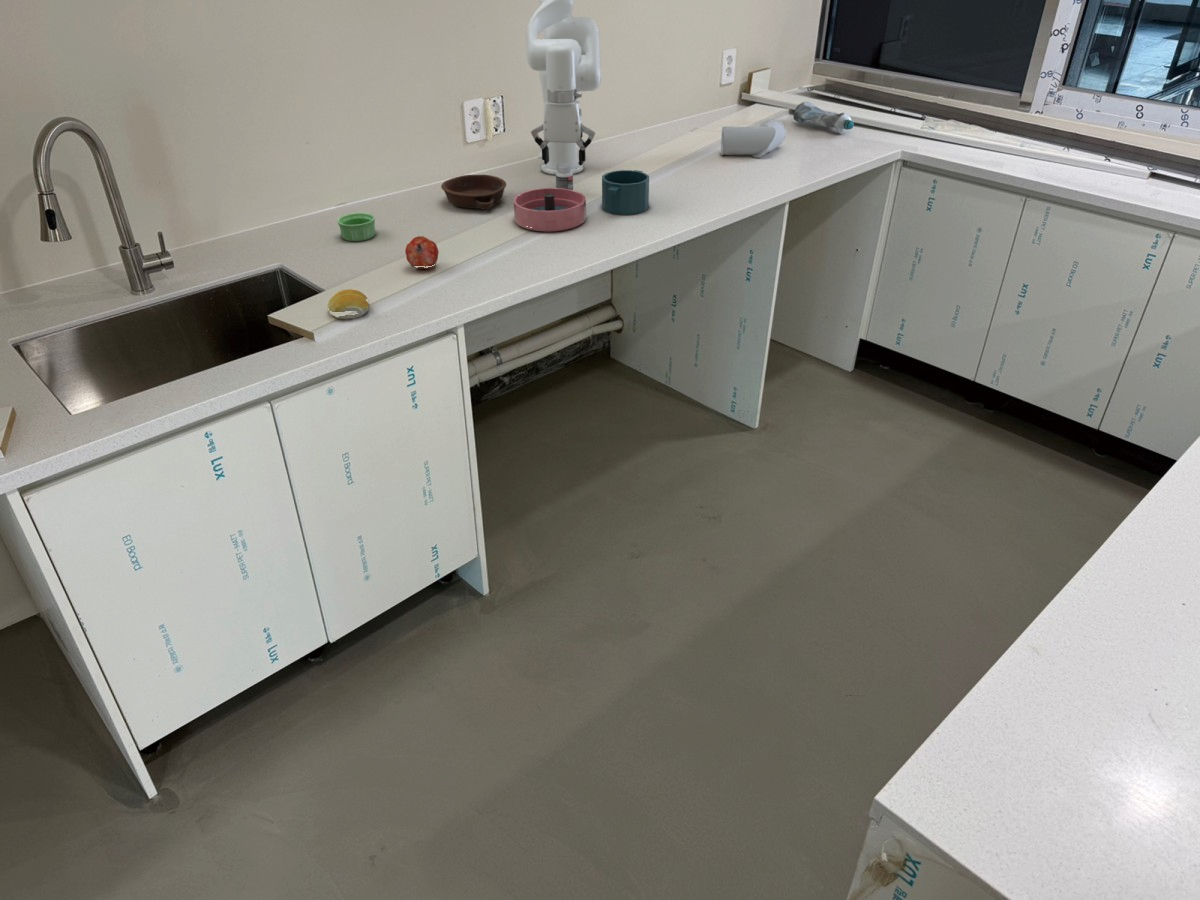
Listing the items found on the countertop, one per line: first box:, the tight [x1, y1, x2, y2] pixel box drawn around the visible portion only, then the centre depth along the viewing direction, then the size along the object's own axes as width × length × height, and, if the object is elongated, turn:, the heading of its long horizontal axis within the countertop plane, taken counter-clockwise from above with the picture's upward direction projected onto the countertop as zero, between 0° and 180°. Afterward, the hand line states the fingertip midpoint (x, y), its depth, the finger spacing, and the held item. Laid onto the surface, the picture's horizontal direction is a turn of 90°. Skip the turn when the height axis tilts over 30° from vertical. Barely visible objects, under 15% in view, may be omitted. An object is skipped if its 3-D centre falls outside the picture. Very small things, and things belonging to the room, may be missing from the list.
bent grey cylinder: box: [720, 119, 787, 159], centre depth 265 cm, size 18×11×20 cm
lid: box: [532, 194, 568, 211], centre depth 216 cm, size 13×13×6 cm
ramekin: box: [337, 212, 376, 242], centre depth 209 cm, size 9×9×4 cm
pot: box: [601, 169, 650, 216], centre depth 224 cm, size 12×18×8 cm
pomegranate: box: [404, 235, 440, 270], centre depth 191 cm, size 7×7×10 cm
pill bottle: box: [555, 163, 574, 190], centre depth 232 cm, size 5×5×8 cm
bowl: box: [513, 187, 587, 233], centre depth 216 cm, size 18×18×6 cm
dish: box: [440, 174, 507, 210], centre depth 229 cm, size 18×22×5 cm
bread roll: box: [327, 288, 370, 320], centre depth 173 cm, size 8×9×4 cm
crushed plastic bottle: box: [792, 101, 855, 135], centre depth 289 cm, size 13×7×25 cm
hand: (564, 163), depth 228 cm, fingers open, 9 cm apart
